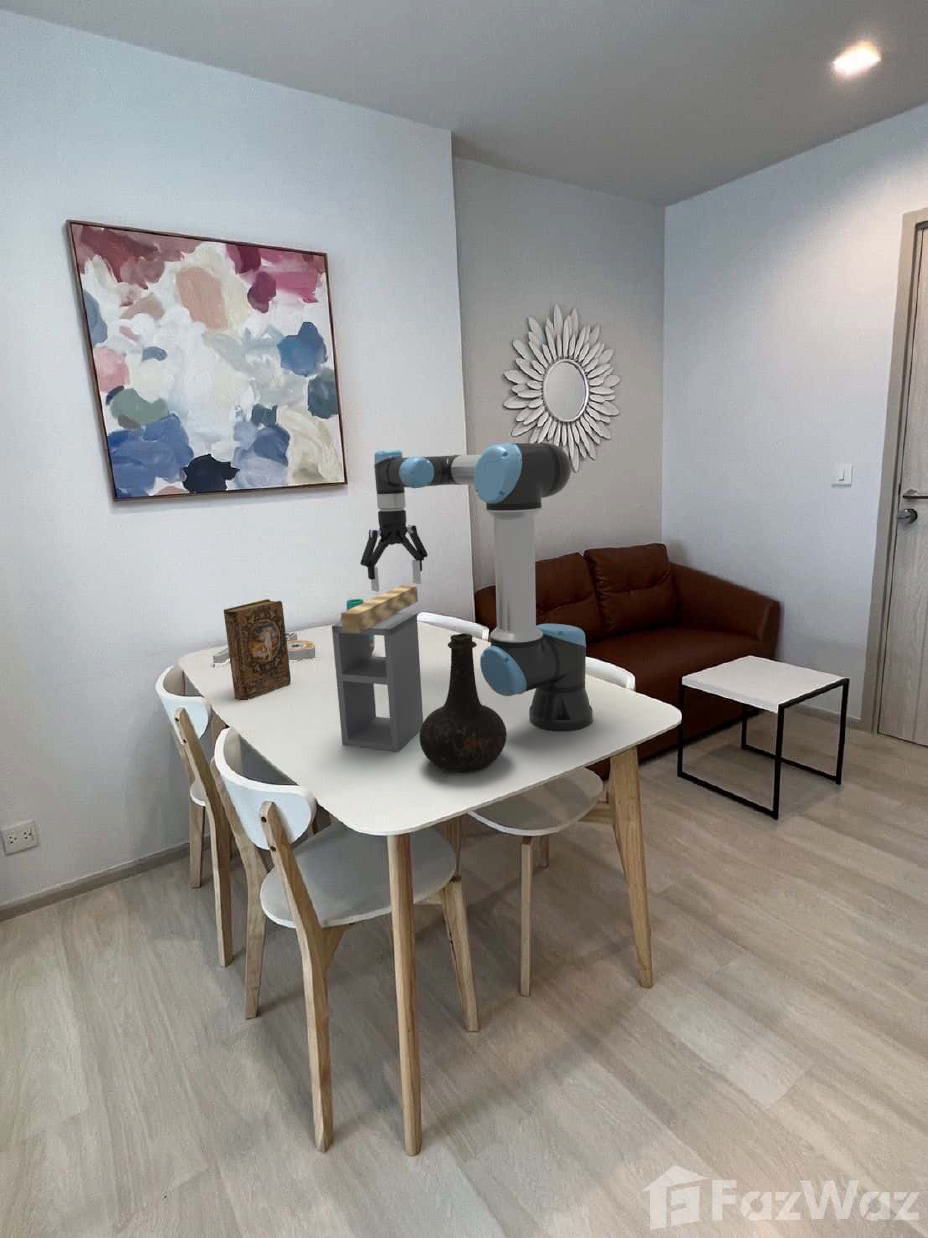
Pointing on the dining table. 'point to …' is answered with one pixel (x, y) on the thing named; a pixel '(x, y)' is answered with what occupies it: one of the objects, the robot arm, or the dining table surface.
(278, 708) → the dining table surface
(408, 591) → the wooden bar
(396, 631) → the shelf
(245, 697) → the book
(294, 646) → the sign
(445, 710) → the glass bottle
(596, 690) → the dining table surface
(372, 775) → the dining table surface
